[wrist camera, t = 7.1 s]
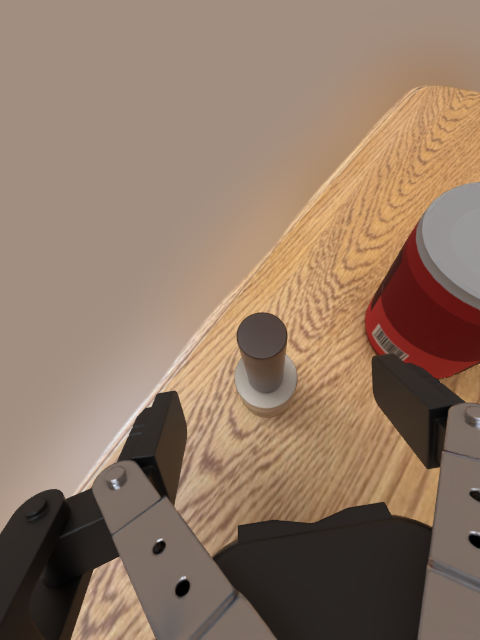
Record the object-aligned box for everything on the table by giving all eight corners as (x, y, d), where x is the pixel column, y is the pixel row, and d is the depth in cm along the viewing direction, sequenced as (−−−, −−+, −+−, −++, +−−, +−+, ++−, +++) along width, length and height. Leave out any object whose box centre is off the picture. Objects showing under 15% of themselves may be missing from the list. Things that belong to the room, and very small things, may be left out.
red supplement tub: (471, 395, 22) (638, 337, 12) (354, 364, 23) (413, 291, 13) (473, 301, 24) (608, 191, 15) (369, 280, 26) (426, 169, 16)
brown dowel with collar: (260, 428, 22) (249, 400, 12) (230, 383, 24) (199, 325, 14) (304, 396, 23) (329, 344, 13) (272, 354, 24) (271, 279, 14)
